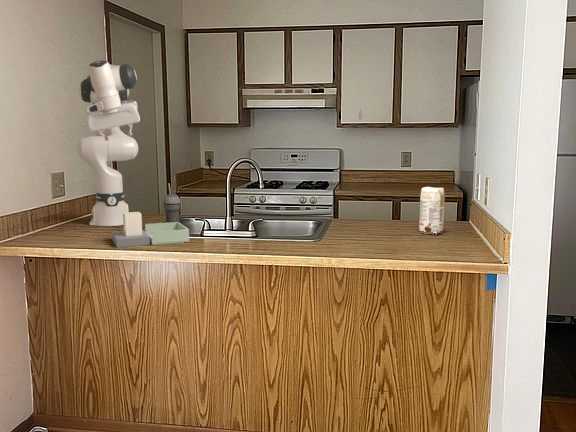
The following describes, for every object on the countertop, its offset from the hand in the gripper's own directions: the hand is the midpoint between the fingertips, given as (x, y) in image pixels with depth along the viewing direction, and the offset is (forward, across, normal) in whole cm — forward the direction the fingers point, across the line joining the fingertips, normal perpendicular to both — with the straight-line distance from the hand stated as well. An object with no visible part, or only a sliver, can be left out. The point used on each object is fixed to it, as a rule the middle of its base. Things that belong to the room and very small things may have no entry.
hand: (118, 137), depth 235 cm
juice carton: (+59, -114, +29) cm, 132 cm away
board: (+36, +3, +24) cm, 43 cm away
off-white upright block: (+33, +1, +23) cm, 40 cm away
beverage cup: (+42, -12, +3) cm, 44 cm away
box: (+39, -10, +21) cm, 45 cm away
